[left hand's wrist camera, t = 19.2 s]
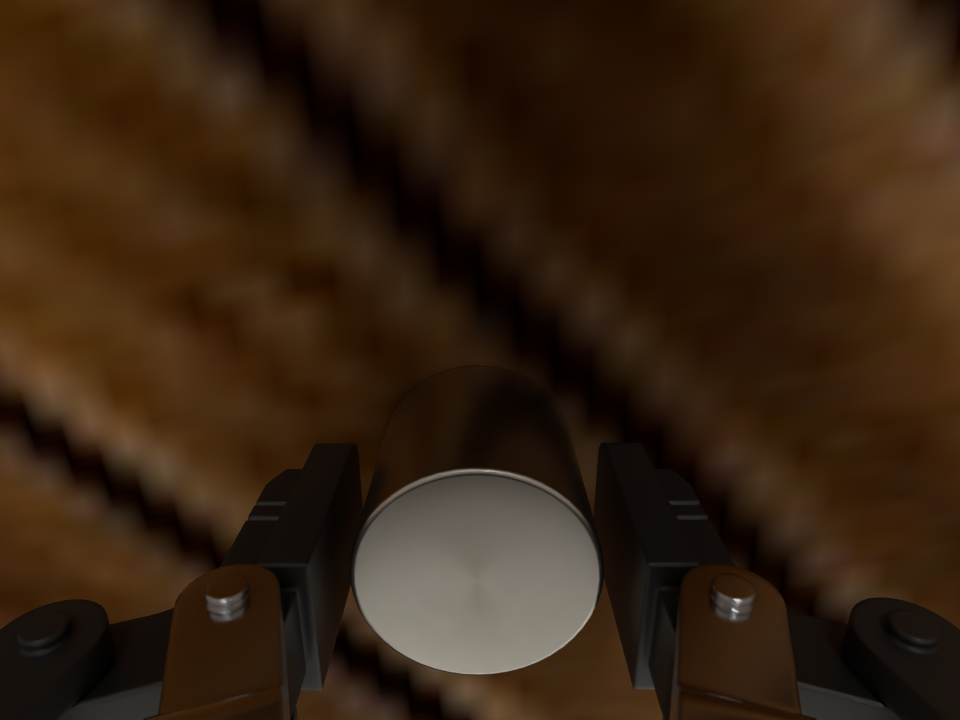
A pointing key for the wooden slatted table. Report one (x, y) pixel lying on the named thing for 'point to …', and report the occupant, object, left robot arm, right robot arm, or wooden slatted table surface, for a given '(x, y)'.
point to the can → (477, 527)
